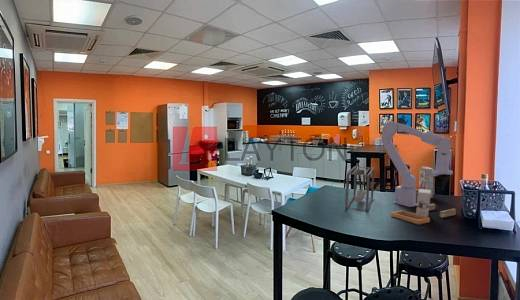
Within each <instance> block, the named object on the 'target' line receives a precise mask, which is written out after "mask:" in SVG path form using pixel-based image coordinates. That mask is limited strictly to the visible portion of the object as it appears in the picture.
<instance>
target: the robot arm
mask: <svg viewBox="0 0 520 300" xmlns="http://www.w3.org/2000/svg"><path fill="white" fill-rule="evenodd" d="M384 123H385V122H384ZM396 133H406V134H409V135H411V136H414V137H418V138H420V141H421V142H422V143H425V144H427V145H431V146H432V147H437V152H436V156H435V157H436V159H435V169H434V171H433V172H431V176H434V181H435V182H436V185H437V190H438V191H444V190H445V187H446V184H447V183H448V181H449V180H450V178H451V176H450V175H453V174H454V172H453V170H451V169H450V164H451V162H450V161H451V147H452V145H453V144H452V141H451V140H450V138H448V137H446V136H443V135H442V134H440V135H439V134H437V133H434V132H433V130H425V131H422V130H419V129H417V128H414V127H411V126H409V125H408V124H406V123H405V124H404V123H400V122H395V121H387V122H386V123H385V124H384V125H383V127H382V129H381V140H380V141H381V143H382V144H381V145H382V146H383V147H384V149H385V151H386V152H387V154H388V156H389V158H390V160H391V161H392V163H393V165H394V167H395V168H396V170H397V172H398V175H399V177H400V179H401V185H398V186H396V188H395V191H394V201H393V203H394V204H395V205H396V204H397V205H401V206H403V207H404V206H405V207H408V208H411V207H417V202H416V201H417V199H416V198H417V186H415V185H416V184H417V182H416V181H417V176H416V175H415V174H413V173H411V171H410V169H409V168H408V167H407V165H406V163H405V162H404V159H403V158H402V156H401V155H400V152H399V151H398V150H397V148H396V146H395V144H394V143H393V138H394V135H395V134H396Z"/></svg>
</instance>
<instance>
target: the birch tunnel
mask: <svg viewBox="0 0 520 300" xmlns="http://www.w3.org/2000/svg"><path fill="white" fill-rule="evenodd" d="M433 210H434V211H435V210H436V204H435V203H430V205H429V211H433ZM456 213H457V209H456V208H450V209H446V210H441V211H439V215H438V217H439V218H447V217H450V216H455V215H457V214H456Z"/></svg>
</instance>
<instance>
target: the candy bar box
mask: <svg viewBox="0 0 520 300" xmlns="http://www.w3.org/2000/svg"><path fill="white" fill-rule="evenodd" d="M433 171H435V169H434V168H432V167H429V166H419V177H418V179H419V180H418V190H419V189H426V190H431V193H430V199H434V184H435V182H434V181H435V178H434V176H431V172H433Z"/></svg>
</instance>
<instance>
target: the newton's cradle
mask: <svg viewBox="0 0 520 300" xmlns="http://www.w3.org/2000/svg"><path fill="white" fill-rule="evenodd" d="M361 169H366V170H365V172H364V173H359V172H360V171H361ZM350 175H353V194H352V196H351V198H350V200H349V183H350V182H349V180H350ZM361 176H363V179H362V183H361V181H357V180H358V179H359V178H361ZM345 178H346V179H345V198H344V199H345V200H344V202H345V203H344V207H345V209H346V210H347V209H353V210H354V209H355V210H360V211H366V212H368V211H369V209H370V206H371V204H372V202H373V199H374V188H375V185H374V184H375V167H374V166H372V167H369V166H367V167H365V166H364V167H363V166H357V165H354V166H353V167H352V168H351V169H350V170H349V171H347V172H346V177H345ZM370 179H371V188H370ZM365 183H366V190H365V189H364V187H365ZM358 186H360V187H359V188H358ZM357 188H358V189H357ZM370 191H371V192H370ZM356 192H357V193H356ZM364 199H365V209H364V208H357V207H350V206H351V204H352V202H353V201H354V202H355V203H357V204H360V203H362V202H363V200H364Z"/></svg>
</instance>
